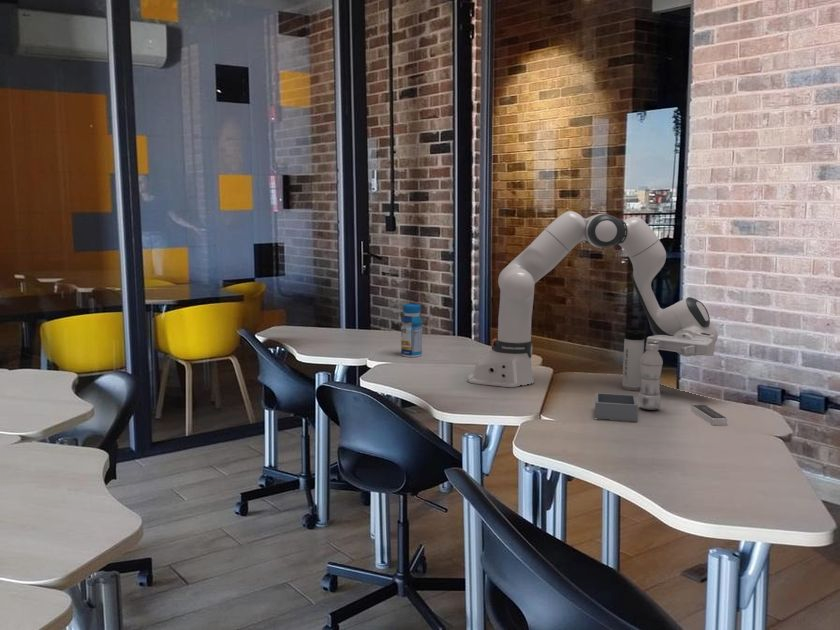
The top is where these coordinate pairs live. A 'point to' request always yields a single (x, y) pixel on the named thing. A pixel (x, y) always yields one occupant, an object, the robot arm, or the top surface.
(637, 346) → the travel mug
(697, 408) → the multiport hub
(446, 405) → the top surface
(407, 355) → the beverage bottle
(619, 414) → the gray open square bin
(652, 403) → the plastic bottle
